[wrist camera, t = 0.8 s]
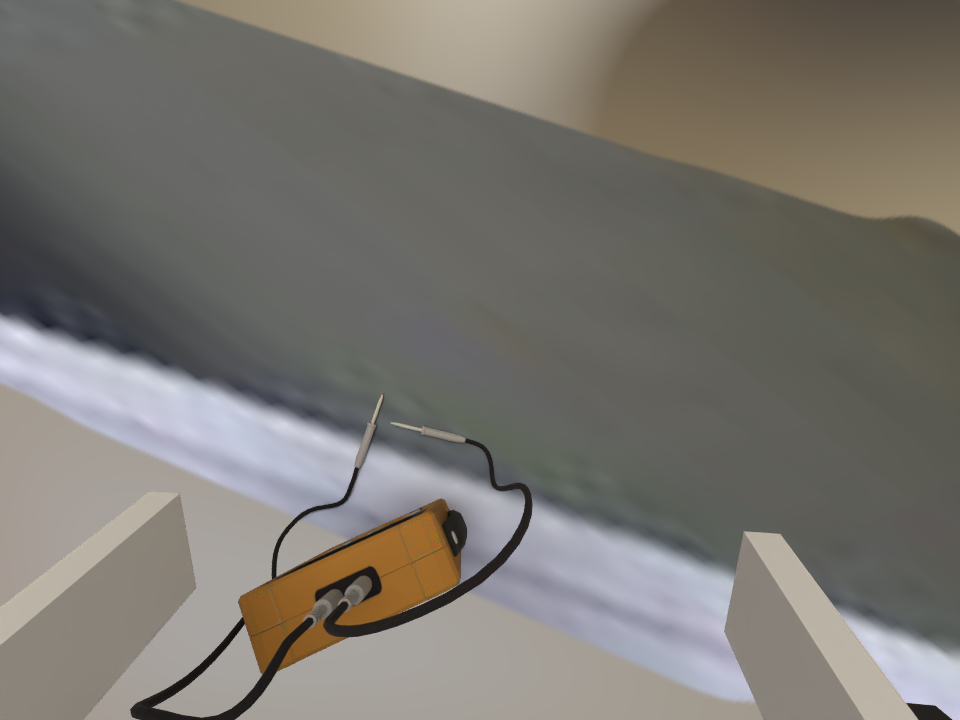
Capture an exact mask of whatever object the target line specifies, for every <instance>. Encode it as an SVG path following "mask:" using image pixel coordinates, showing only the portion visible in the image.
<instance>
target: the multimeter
mask: <svg viewBox="0 0 960 720" xmlns="http://www.w3.org/2000/svg"><path fill="white" fill-rule="evenodd" d="M382 400H383V394H382V395H381V397H380V399H379V402H378V404H377V407H376V410H375V413H374V416H373V419H372V422H371V423H367V429H366V432H365V434H364V437H363V440H362V443H361V446H360V449H359V452H358V454H357V457H356V462H355V469H354V473H353V476H352V479H351V482H350V484H349V487H348V490H347V492H346V494H345V496H344V498H343V499H342V500H341V501H339V502H337V503H333V504H328V505H322V506H316V507H313V508H310V509H307V510H306V511H304V512H302V513H301V514H300V515H298V516H297V517H296V518H295V519H294V520H293V521H292V522H291V523H290V524H289V525H288V526H287V527H286V529H285V530H284V531H283V533H282V534H281V536H280V537H279V539H278V541H277V543H276V546H275V549H274V553H273V560H272V580H270V581H268V582H266V583H265V584H263V585H261V586H259V587H257V588H255V589H253V590H252V591H249V592H248V593H246V594H244V595H242V596H241V597H240V599H239V601H238V603H239V606H240V609H241V612H242V615H243V617H242V618H241V620H240V621H239V622H238V623H237V625H236V626H235V627H234V628H233V630H232V631H231V632H230V633H229V634H228V636H227V637H226V638H225V639H224V641H223V642H222V643H221V644H220V645H219V646H218V647H217V648H216V649H215V650H214V651H213V652H212V654H211V655H209V656H208V657H207V658H206V659H205V660H204V661H203V662H202V663H201V664H200V665H199V666H198V667H196V668H195V669H194V670H193V671H192V672H190V673H189V674H188V675H187V676H185V677H184V678H183V679H181V680H179V681H178V682H176V683H175V684H173V685H172V686H170V687H169V688H167V689H165V690H163V691H161V692H159V693H157V694H155V695H153V696H151V697H149V698H147V699H144V700H142V701H140V702H138V703H136V704H135V705H134V706H133V707H132V708H131V709H130V711H131V715H132V717H133V718H136V719H140V720H235V719H236V718H237V717H239V716H240V715H241V714H242V713H244V712H245V711H246V710H247V709H249V708H250V707H251V706H252V705H253V704H254V703H255V701H256V700H257V699H258V698H259V697H260V696H261V695H262V693H263V692H264V690H265V689H266V688H267V686H268V685H269V683H270V682H271V680H272V678H273V677H274V675H275V674H276V672H277V671H279V670H281V669H283V668H286V667H288V666H290V665H292V664H294V663H296V662H297V661H300V660H302V659H304V658H306V657H308V656H310V655H312V654H314V653H317V652H318V651H321V650H323V649H325V648H327V647H329V646H331V645H333V644H335V643H338V642H340V641H342V640H344V639H346V638H348V637H358V636H363V635H368V634H372V633H377V632H380V631H383V630H387V629H390V628H393V627H397V626H399V625H402V624H404V623H407V622H409V621H412V620H414V619H417V618H419V617H422V616H424V615H426V614H428V613H430V612H432V611H434V610H436V609H438V608H441V607H443V606H445V605H447V604H449V603H451V602H452V601H454V600H456V599H457V598H459V597H460V596H462V595H464V594H465V593H467V592H468V591H470V590H472V589H473V588H475V587H476V586H478V585H480V584H481V583H482V582H484V581H485V580H486V579H487V578H488V577H489V576H490V575H491V574H493V573H494V572H495V571H496V570H497V569H498V568H499V567H500V566H502V565H503V564H504V563H505V562H506V560H507V559H508V558H509V557H510V555H511V554H512V553H513V552H514V550H515V549H516V548H517V546H518V545H519V544H520V542H521V540H522V538H523V536H524V534H525V532H526V531H527V529H528V526H529V522H530V519H531V515H532V498H531V493H530V491H529V489H528V487H527V486H526V485H524V484H522V483H514V484H510V485H506V486H497V484H496V482H495V479H494V469H493V462H492V458H491V455H490V453H489V451H488V450H487V448H486V447H485V446H484V445H482V444H480V443H478V442H476V441H473V440H469V439H466V438H465V437H463V436H460V435H457V434H453V433H449V432H445V431H440V430H436V429H432V428H428V427H425V426H424V425H423V427H422V428H417V427H413V426H409V425H405V424H400V423H391V424H393V425H395V426H399V427H403V428H407V429H412V430H416V431H420V432H421V435H427V436H431V437H435V438H440V439H444V440H448V441H452V442H458V443H465V442H466V443H469V444H473V445H476V446H478V447H480V448H481V449H482V450H483V451H484V452H485V453H486V455H487V458H488V462H489V467H490V478H491V483H492V486H493V488H494V489H496V490H498V491H508V490H513V489H521V490H522V491H523V493H524V496H525V508H524V513H523V516H522V519H521V522H520V524H519V526H518V528H517V530H516V531H515V533H514V535H513V536H512V538H511V540H510V541H509V542H508V543H507V545H506V546H505V547H504V548H503V549H502V551H501V552H500V553H499V554H498V555H497V556H496V558H494V559H493V560H492V561H491V562H490V563H488V564H487V565H486V566H485V567H484V568H483V569H481V570H480V571H479V572H478V573H477V574H476V575H474V576H473V577H471V578H470V579H468V580H466V581H465V582H463V583H461V584H460V585H458V584H459V582H460V578H461V549H462V548H463V547H464V545H465V543H466V538H467V528H466V525H465V522H464V520H463V517H462V515H461V514H460V513H459V512H457V511H454V510H451V511H449V509H448V507H447V505H446V502H445V500H443V499H439V500H437V501H434V502H432V503H430V504H428V505H426V506H423V507H421V508H419V509H417V510H415V511H412V512H410V513H408V514H406V515H404V516H401V517H399V518H397V519H395V520H392V521H390V522H388V523H386V524H384V525H381V526H379V527H377V528H375V529H373V530H370V531H368V532H366V533H364V534H361V535H359V536H357V537H355V538H353V539H350V540H348V541H346V542H344V543H342V544H339V545H337V546H335V547H333V548H331V549H329V550H327V551H325V552H323V553H321V554H319V555H317V556H315V557H313V558H312V559H310V560H308V561H306V562H304V563H302V564H300V565H298V566H296V567H295V568H293V569H291V570H289V571H287V572H285V573H283V574H282V575H280V576H278V577H276V566H277V556H278V551H279V548H280V545H281V542H282V540H283V539H284V537H285V535H286V534H287V533H288V532H289V530H290V529H291V528H292V527H293V526H294V525H295V524H296V523H297V522H298V521H299V520H300V519H301V518H302V517H303V516H305V515H307V514H308V513H310V512H313V511H316V510H321V509H327V508H333V507H337V506H339V505H341V504H343V503H344V502H345V501H346V500H347V499H348V497H349V495H350V493H351V491H352V488H353V485H354V483H355V480H356V477H357V474H358V470H359V468H360V467H361V465H362V463H363V461H364V459H365V456H366V453H367V450H368V447H369V444H370V441H371V438H372V435H373V433H374V430H375V428H376V427H377V425H374V423H375V420H376V417H377V414H378V411H379V408H380V405H381V403H382ZM456 585H458V586H457V587H455V588H453V587H454V586H456ZM451 588H453V589H452V590H450V591H448V592H447V593H445V594H443V595H441V596H439V597H437V598H435V599H432V600H430V601H428V602H426V603H424V604H422V605H420V606H417V607H415V608H412V609H410V610H407V609H409V608H411V607H413V606H415V605H418V604H420V603H422V602H424V601H426V600H429V599H431V598H433V597H435V596H437V595H439V594H441V593H443V592H445V591H447V590H449V589H451ZM405 610H407V611H405ZM403 611H405V612H403ZM401 612H402V613H401ZM399 613H400V614H399ZM244 624H245V625H246V628H247V631H248V634H249V636H250V641H251V643H252V647H253V650H254V653H255V656H256V659H257V662H258V665H259V669H260V672H261V673H262V674H263V675H262V677H261V678H260V679H259V681H258V682H257V684H256V685H255V686H254V688H253V689H252V690H251V691H250V692H249V694H248V695H247V696H246V697H245V698H244V699H243V700H242V701H241V702H239V703H238V704H237V705H236V706H234V707H233V708H232V709H230V710H228V711H226V712H224V713H221V714H219V715H216V716H210V717H204V718H200V717H192V716H185V715H180V714H176V713H172V712H168V711H164V710H160V709H155V708H152V707H154V706H156V705H157V704H159V703H161V702H163V701H165V700H166V699H168V698H170V697H172V696H173V695H175V694H176V693H178V692H179V691H180V690H182V689H183V688H185V687H186V686H187V685H189V684H190V683H191V682H192V681H193V680H195V679H196V678H197V677H198V676H199V675H201V674H202V673H203V672H204V671H205V670H206V669H207V668H208V667H209V666H210V665H211V664H212V663H213V662H214V661H215V660H216V659H217V657H218V656H219V655H220V654H221V653H222V652H223V651H224V650H225V649H226V647H227V646H228V645H229V644H230V642H231V641H232V640H233V639H234V637H235V636H236V635H237V633H238V632H239V631H240V630H241V628H242V627H243V626H244Z"/></svg>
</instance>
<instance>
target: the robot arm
mask: <svg viewBox="0 0 960 720" xmlns="http://www.w3.org/2000/svg"><path fill="white" fill-rule="evenodd" d="M195 589H196V583H195V578H194V573H193V566H192V561H191V555H190V549H189V544H188V538H187V533H186V526H185V521H184V515H183V509H182V504H181V498H180V494H179V493H164V492H163V493H162V492H149V493H147V494H146V495H145V496H143V497H142V498H141V499H140V500H138V501H137V502H136V503H134V504H133V505H132V506H130V507H129V508H128V509H127V510H125V511H124V512H123V513H122V514H120V515H119V516H117V517H116V518H115V519H114V520H112V521H111V522H110V523H108V524H107V525H106V526H105V527H103V528H102V529H101V530H99V531H98V532H97V533H96V534H94V535H93V536H92V537H90V538H89V539H88V540H87V541H85V542H84V543H83V544H81V545H80V546H79V547H77V548H76V549H75V550H74V551H72V552H71V553H70V554H69V555H67V556H66V557H64V558H63V559H62V560H61V561H59V562H58V563H57V564H55V565H54V566H53V567H52V568H50V569H49V570H48V571H47V572H45V573H44V574H43V575H41V576H40V577H39V578H37V579H36V580H35V581H34V582H32V583H31V584H30V585H28V586H27V587H26V588H24V589H23V590H22V591H21V592H19V593H18V594H17V595H15V596H14V597H13V598H12V599H10V600H9V601H8V602H6V603H5V604H4V605H2V606H1V607H0V720H84V719H85V717H86V716H87V715H88V714H89V713H90V712H91V710H92V709H93V708H94V707H95V706H96V704H97V703H98V702H99V701H100V700H101V699H102V698H103V696H104V695H105V694H106V693H107V692H108V691H109V689H110V688H111V687H112V686H113V684H115V682H116V681H117V680H118V679H119V678H120V676H121V675H122V674H123V673H124V672H125V671H126V669H127V668H128V667H129V666H130V665H131V664H132V662H133V661H134V660H135V659H136V657H138V655H139V654H140V653H141V652H142V651H143V650H144V648H145V647H146V646H147V645H148V643H149V642H150V641H151V640H152V639H153V638H154V637H155V635H156V634H157V633H158V632H159V631H160V630H161V628H162V627H163V626H164V625H165V624H166V622H167V621H168V620H169V619H170V618H171V617H172V616H173V614H174V613H175V612H176V611H177V610H178V609H179V607H180V606H181V605H182V604H183V603H184V602H185V600H186V599H187V598H188V597H189V596H190V595H191V593H192V592H193V591H194V590H195ZM724 632H725V634H726V636H727V639H728V641H729V643H730V645H731V647H732V650H733V652H734V654H735V656H736V659H737V661H738V663H739V665H740V667H741V670H742V672H743V674H744V676H745V679H746V681H747V683H748V685H749V688H750V690H751V692H752V694H753V696H754V699H755V701H756V703H757V705H758V708H759V710H760V712H761V714H762V716H763V719H764V720H952V719H951V718H950V717H948V716H947V715H946V714H945V713H944V712H942V711H941V710H940V709H939V708H938V707H936V706H933V705H922V704H911V703H905V701H904V700H903V698H902V697H901V696H900V694H899V693H898V692H897V690H896V689H895V688H894V686H893V685H892V684H891V682H890V681H889V680H888V678H887V677H886V676H885V674H884V673H883V672H882V670H881V669H880V668H879V666H878V665H877V664H876V662H875V661H874V660H873V658H872V657H871V656H870V654H869V653H868V652H867V650H866V649H865V647H864V646H863V645H862V643H861V642H860V641H859V639H858V638H857V637H856V635H855V634H854V633H853V631H852V630H851V629H850V627H849V626H848V625H847V623H846V622H845V621H844V619H843V618H842V617H841V615H840V614H839V613H838V611H837V610H836V609H835V607H834V606H833V605H832V603H831V602H830V600H829V599H828V598H827V596H826V595H825V594H824V592H823V591H822V590H821V588H820V587H819V586H818V584H817V583H816V582H815V580H814V579H813V578H812V576H811V575H810V574H809V572H808V571H807V570H806V568H805V567H804V566H803V564H802V563H801V562H800V560H799V559H798V558H797V556H796V555H795V553H794V552H793V551H792V549H791V548H790V547H789V545H788V544H787V543H786V541H785V540H784V539H783V537H782V536H781V535H780V534H772V533H757V532H744V534H743V539H742V544H741V549H740V554H739V559H738V564H737V569H736V574H735V579H734V585H733V590H732V595H731V600H730V605H729V610H728V615H727V620H726V625H725V630H724Z"/></svg>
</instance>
